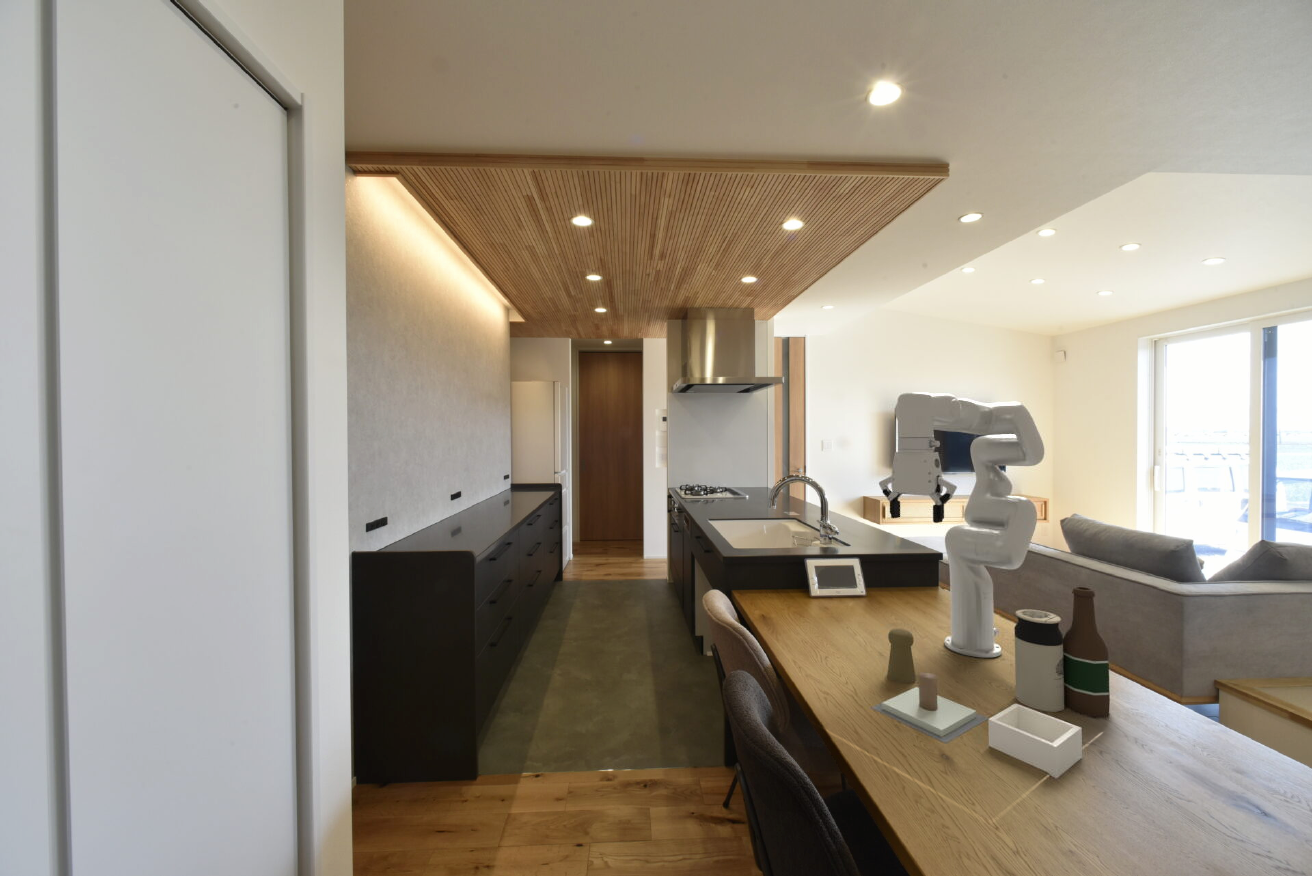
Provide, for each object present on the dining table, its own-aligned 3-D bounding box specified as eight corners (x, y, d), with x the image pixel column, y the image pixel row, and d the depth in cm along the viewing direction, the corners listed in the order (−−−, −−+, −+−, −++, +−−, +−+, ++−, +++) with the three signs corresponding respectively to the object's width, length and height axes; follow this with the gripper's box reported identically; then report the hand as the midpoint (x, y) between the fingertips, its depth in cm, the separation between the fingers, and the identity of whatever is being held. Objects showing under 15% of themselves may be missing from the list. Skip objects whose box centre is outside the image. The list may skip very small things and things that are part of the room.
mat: (914, 689, 113) (914, 687, 113) (988, 720, 100) (988, 718, 100) (871, 709, 105) (870, 707, 105) (946, 745, 92) (945, 743, 92)
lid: (916, 692, 111) (916, 658, 111) (976, 717, 101) (975, 679, 101) (882, 708, 104) (881, 672, 104) (942, 736, 94) (941, 696, 94)
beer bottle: (1100, 702, 106) (1097, 584, 107) (1120, 721, 99) (1117, 595, 99) (1054, 696, 109) (1052, 581, 109) (1070, 715, 101) (1068, 592, 102)
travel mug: (1007, 698, 108) (1005, 612, 109) (1031, 690, 112) (1029, 606, 112) (1048, 716, 101) (1046, 623, 101) (1073, 708, 104) (1071, 618, 104)
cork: (919, 686, 114) (918, 636, 114) (890, 684, 116) (889, 634, 116) (912, 674, 120) (911, 626, 120) (884, 672, 121) (883, 625, 122)
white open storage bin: (1015, 730, 97) (1015, 703, 97) (1082, 757, 88) (1081, 727, 88) (988, 747, 91) (988, 719, 91) (1056, 778, 83) (1055, 746, 83)
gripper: (962, 446, 116) (963, 522, 116) (887, 446, 130) (888, 515, 130) (947, 445, 112) (948, 525, 111) (871, 446, 125) (872, 517, 125)
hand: (916, 519), depth 120 cm, fingers open, 9 cm apart
